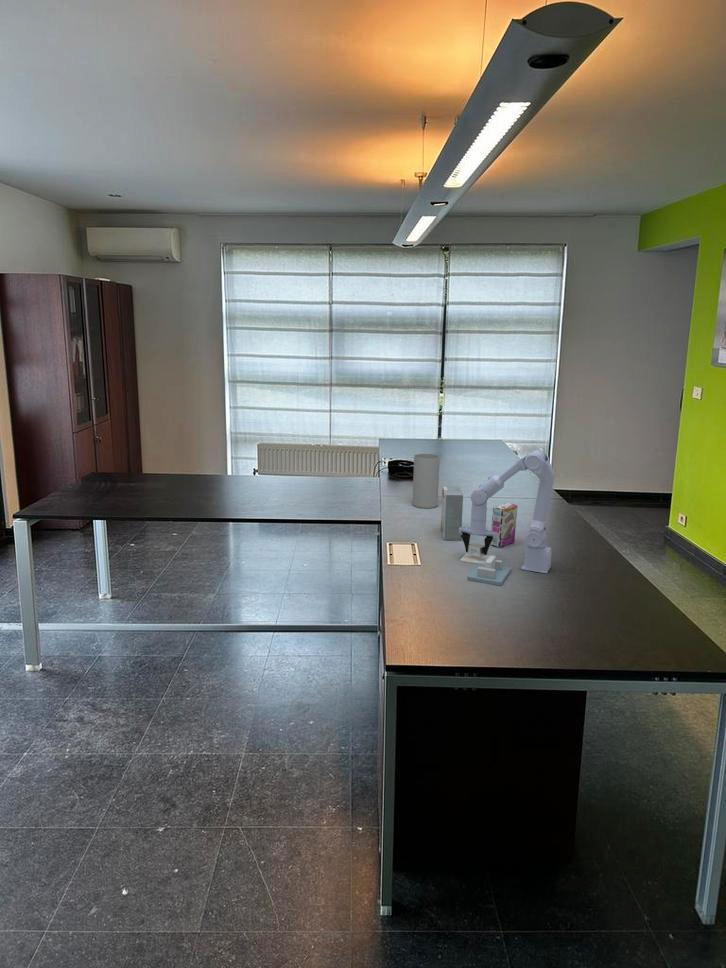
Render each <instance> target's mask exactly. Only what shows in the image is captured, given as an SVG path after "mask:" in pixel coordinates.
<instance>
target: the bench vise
mask: <svg viewBox="0 0 726 968" xmlns="http://www.w3.org/2000/svg"><path fill="white" fill-rule="evenodd" d="M489 556H490V557H489V558H486V559H485V564H483V563H479V564H476V566H475V568H473V570H472V571H470V573H469V574H468V576H467V578H466V580H467V581H471V582H475V583H481V584H482V583H483V584H487V585H493V584H494V585H495V586H499V585H500V587H501V586H502V585H503V583H504V582H505V581H506V579H507V578H506V577H508V576H509V574H510V573H511V571H512V567H507V566H503V560H500V559H497V555H496V556H495V555H489ZM504 580H505V581H504Z"/></svg>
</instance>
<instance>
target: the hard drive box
mask: <svg viewBox="0 0 726 968" xmlns="http://www.w3.org/2000/svg"><path fill="white" fill-rule="evenodd" d="M441 487H442V488H441V489H442V490H441V491H442V492H441V509H440V510H441V512H440V513H441V515H440V530H441V535H442V539H443V541H462V538H461V535H462V533H459V528H460V527H462V526H463V525H462V524H463V507H464V506H463V505H464V503H463V502H464V493H463V492H462V489H461V487H460V486H459V485H442V486H441Z"/></svg>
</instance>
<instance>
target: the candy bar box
mask: <svg viewBox="0 0 726 968" xmlns="http://www.w3.org/2000/svg"><path fill="white" fill-rule="evenodd" d="M517 515H518V504H514V503H509V502H508V503H507V502H506V503H502V504H499V505H496V506H494V507H493V506H492V519H491V530H490V531H493V532H497V537H496V538H493V540H492V542H491V544H490V546H491V547H496V548H498V549H499V548H503V547H505V546H509V545H511V544H514V543H515V541H516V540H515V538H516V528H517V527H516V526H517V519H518V518H517Z"/></svg>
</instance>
